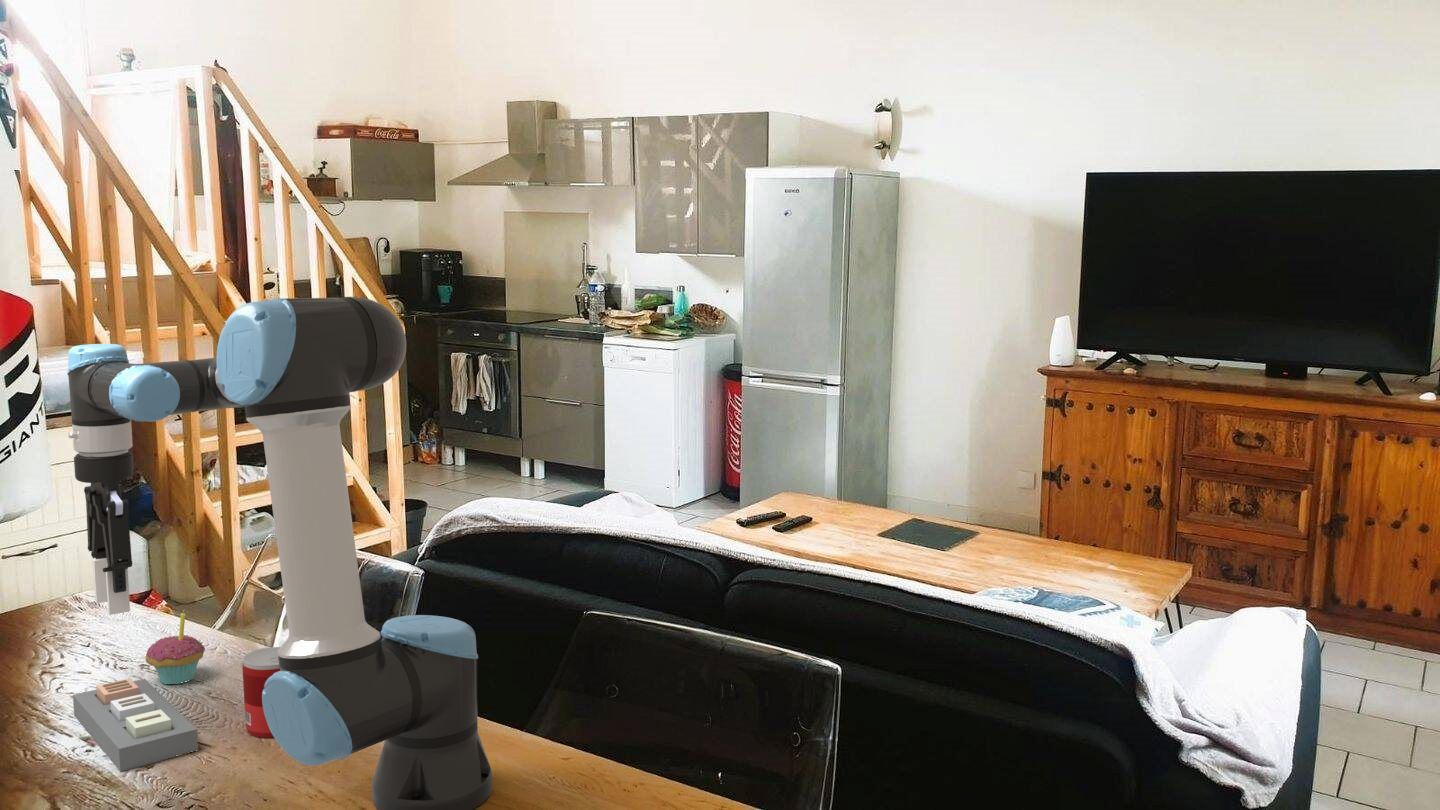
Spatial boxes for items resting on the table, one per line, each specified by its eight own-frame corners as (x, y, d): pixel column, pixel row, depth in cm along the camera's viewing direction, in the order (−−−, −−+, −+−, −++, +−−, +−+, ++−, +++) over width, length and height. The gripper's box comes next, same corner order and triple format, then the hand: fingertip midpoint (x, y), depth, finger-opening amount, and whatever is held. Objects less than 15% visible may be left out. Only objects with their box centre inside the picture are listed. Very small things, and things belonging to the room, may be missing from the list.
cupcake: (216, 672, 192) (213, 601, 191) (184, 692, 184) (180, 618, 182) (169, 668, 194) (165, 598, 192) (135, 687, 185) (130, 614, 184)
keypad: (198, 750, 164) (197, 729, 163) (120, 771, 157) (118, 749, 156) (146, 698, 181) (144, 678, 181) (74, 715, 175) (72, 694, 174)
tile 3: (139, 701, 174) (138, 686, 174) (105, 709, 171) (104, 694, 171) (130, 692, 177) (129, 677, 177) (97, 699, 174) (96, 684, 174)
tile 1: (171, 734, 163) (170, 718, 163) (136, 743, 160) (135, 727, 160) (161, 724, 166) (160, 708, 166) (126, 732, 163) (125, 716, 163)
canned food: (284, 741, 167) (281, 667, 165) (233, 735, 169) (230, 662, 167) (313, 720, 174) (310, 649, 173) (264, 714, 176) (261, 644, 174)
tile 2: (155, 717, 169) (154, 701, 168) (120, 726, 166) (119, 710, 165) (145, 707, 172) (144, 692, 172) (111, 715, 169) (110, 700, 169)
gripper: (57, 445, 173) (67, 596, 177) (92, 465, 159) (102, 629, 163) (113, 439, 178) (121, 586, 182) (151, 458, 164) (160, 618, 168)
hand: (112, 606), depth 172 cm, fingers open, 6 cm apart
